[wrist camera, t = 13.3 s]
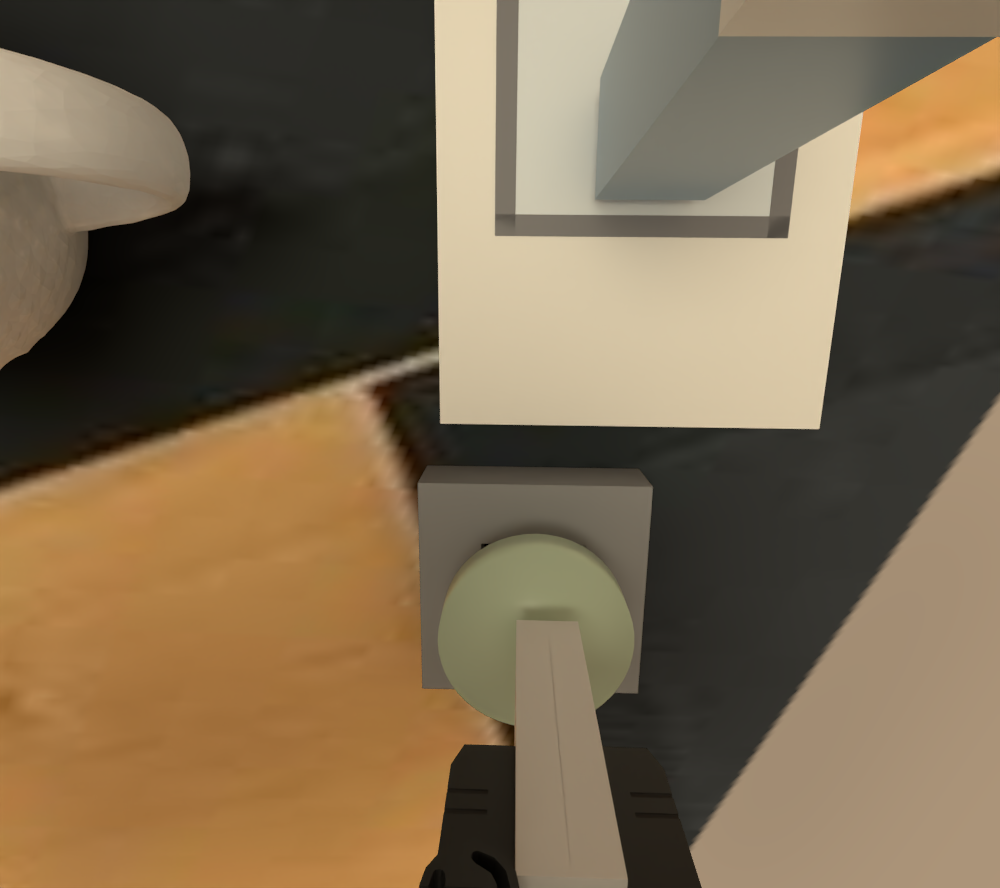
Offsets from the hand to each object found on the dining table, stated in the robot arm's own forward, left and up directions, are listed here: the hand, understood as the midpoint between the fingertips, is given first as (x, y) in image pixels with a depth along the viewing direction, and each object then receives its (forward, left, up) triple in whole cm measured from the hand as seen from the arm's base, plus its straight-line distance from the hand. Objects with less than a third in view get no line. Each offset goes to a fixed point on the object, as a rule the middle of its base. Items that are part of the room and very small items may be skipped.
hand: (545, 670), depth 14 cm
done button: (0, 0, -5) cm, 5 cm away
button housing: (0, 0, -6) cm, 6 cm away
